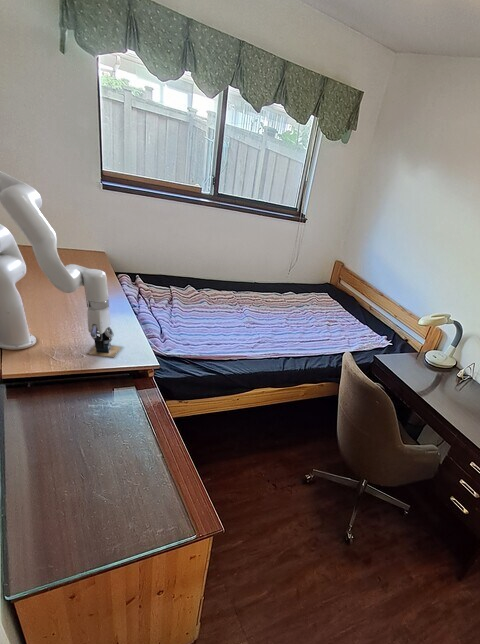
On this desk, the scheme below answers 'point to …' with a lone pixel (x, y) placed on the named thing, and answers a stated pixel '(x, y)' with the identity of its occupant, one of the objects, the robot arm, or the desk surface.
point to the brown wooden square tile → (112, 353)
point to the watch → (106, 343)
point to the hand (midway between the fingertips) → (102, 344)
